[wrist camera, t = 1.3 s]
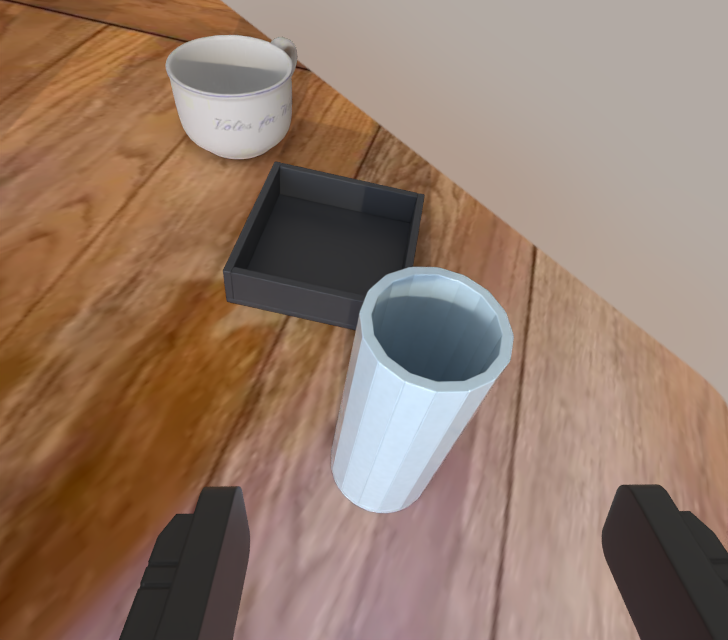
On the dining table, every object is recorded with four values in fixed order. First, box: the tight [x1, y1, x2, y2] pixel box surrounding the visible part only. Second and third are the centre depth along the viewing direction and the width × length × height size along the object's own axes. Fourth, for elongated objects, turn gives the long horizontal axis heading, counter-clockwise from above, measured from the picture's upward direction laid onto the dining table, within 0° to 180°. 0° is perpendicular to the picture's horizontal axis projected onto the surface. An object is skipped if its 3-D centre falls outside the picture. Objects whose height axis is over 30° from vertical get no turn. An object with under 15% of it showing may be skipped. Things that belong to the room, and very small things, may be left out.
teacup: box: [166, 35, 297, 159], centre depth 49 cm, size 14×11×8 cm
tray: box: [223, 162, 425, 330], centre depth 42 cm, size 13×13×4 cm
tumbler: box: [331, 267, 514, 513], centre depth 27 cm, size 6×6×15 cm
